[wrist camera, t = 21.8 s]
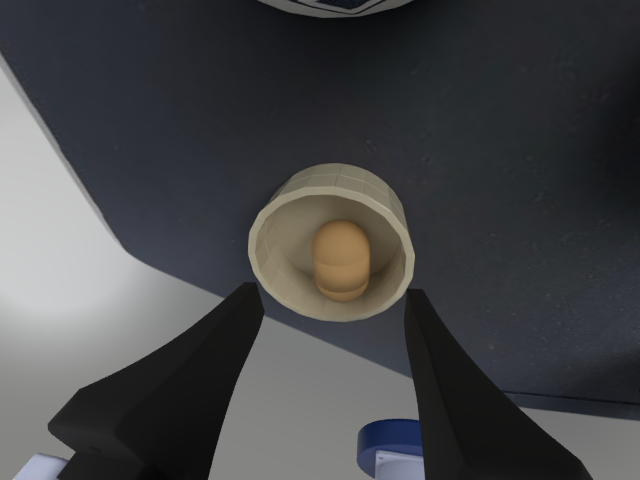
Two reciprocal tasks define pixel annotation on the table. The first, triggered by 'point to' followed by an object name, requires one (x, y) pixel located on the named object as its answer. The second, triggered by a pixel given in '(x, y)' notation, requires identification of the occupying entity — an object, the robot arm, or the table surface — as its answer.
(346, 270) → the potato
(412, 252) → the bowl
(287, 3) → the planter
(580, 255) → the table surface
